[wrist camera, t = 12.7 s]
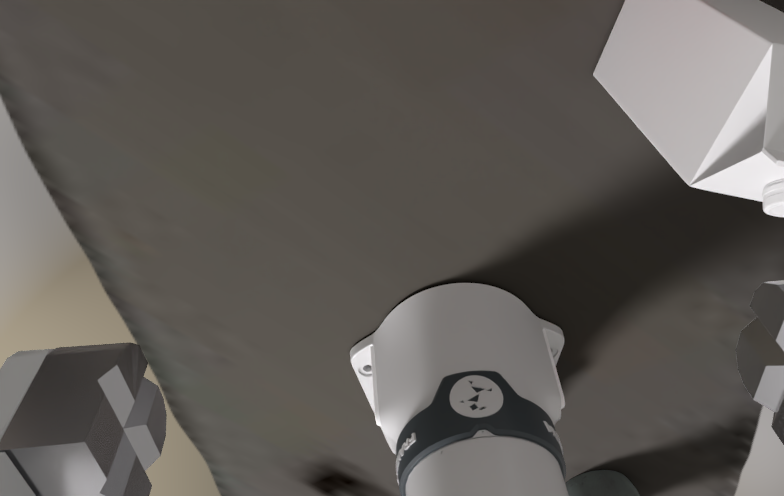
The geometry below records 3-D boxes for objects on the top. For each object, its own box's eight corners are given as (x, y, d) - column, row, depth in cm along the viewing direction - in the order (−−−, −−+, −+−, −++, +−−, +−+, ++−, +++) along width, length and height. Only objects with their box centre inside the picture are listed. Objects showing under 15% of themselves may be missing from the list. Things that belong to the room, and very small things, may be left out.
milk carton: (639, -38, 38) (833, 77, 23) (741, -10, 39) (991, 116, 24) (590, 74, 42) (728, 235, 27) (685, 96, 43) (868, 262, 28)
